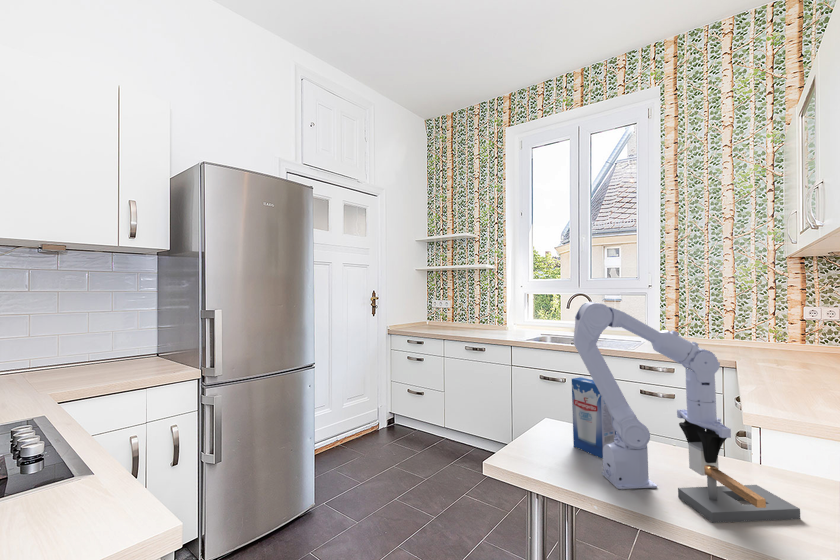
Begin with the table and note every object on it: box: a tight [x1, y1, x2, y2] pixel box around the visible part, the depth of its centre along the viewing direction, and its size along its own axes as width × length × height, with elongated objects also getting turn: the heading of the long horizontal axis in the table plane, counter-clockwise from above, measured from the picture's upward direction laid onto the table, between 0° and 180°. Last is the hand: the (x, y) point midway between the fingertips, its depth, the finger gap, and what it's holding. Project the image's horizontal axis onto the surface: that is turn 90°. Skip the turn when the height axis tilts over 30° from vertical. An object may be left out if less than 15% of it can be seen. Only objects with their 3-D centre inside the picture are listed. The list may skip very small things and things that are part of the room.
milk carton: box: [571, 375, 617, 459], centre depth 117 cm, size 10×6×20 cm, turn 27°
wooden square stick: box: [704, 465, 766, 508], centre depth 79 cm, size 14×2×2 cm, turn 178°
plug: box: [687, 442, 720, 476], centre depth 94 cm, size 4×4×6 cm
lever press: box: [677, 475, 801, 524], centre depth 85 cm, size 18×10×7 cm, turn 92°
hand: (703, 458), depth 94 cm, fingers closed on plug, 4 cm apart
